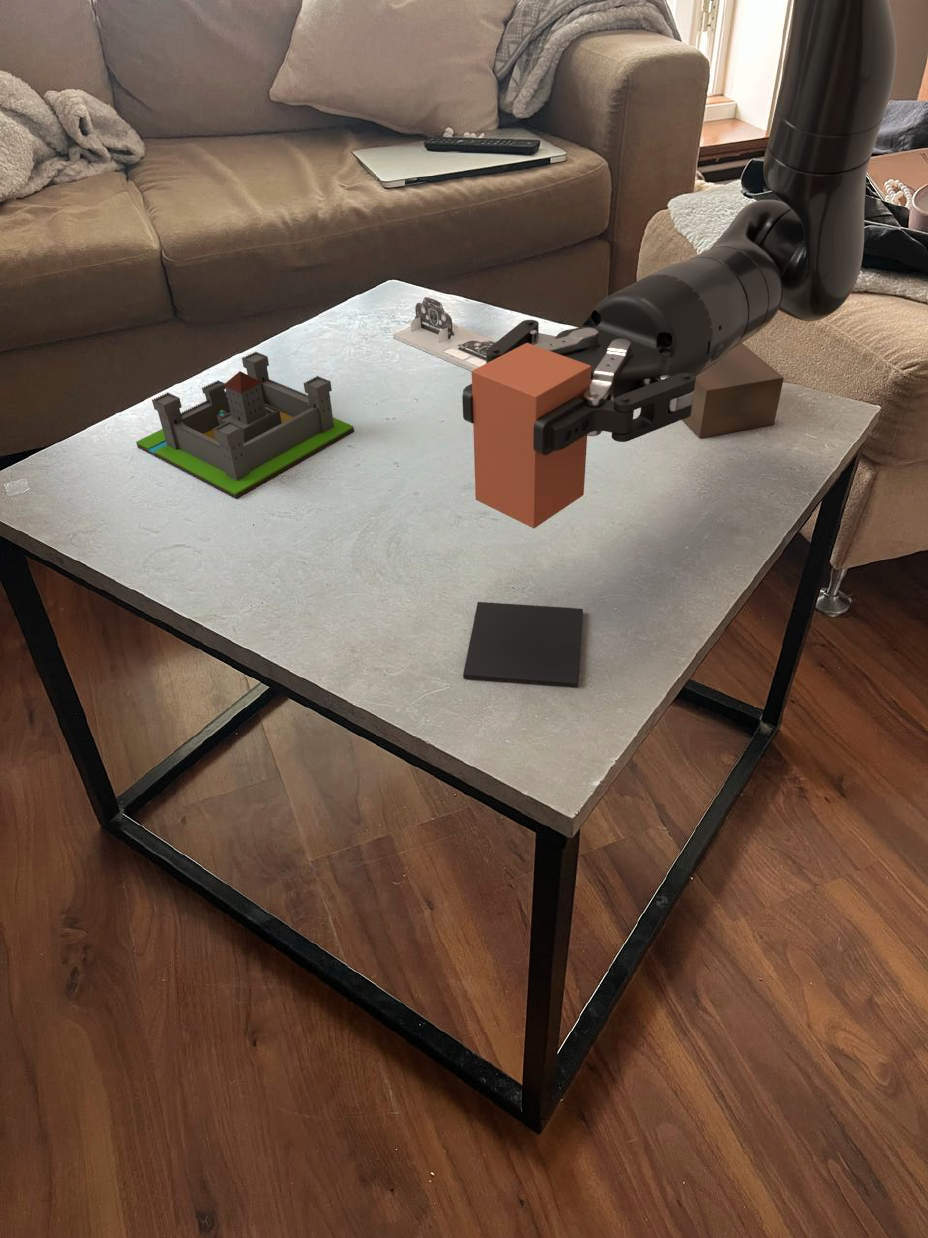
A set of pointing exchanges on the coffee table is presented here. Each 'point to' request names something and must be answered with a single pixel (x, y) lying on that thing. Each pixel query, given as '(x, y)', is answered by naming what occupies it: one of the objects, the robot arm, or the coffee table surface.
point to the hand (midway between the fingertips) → (502, 423)
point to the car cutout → (444, 337)
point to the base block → (735, 394)
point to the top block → (525, 433)
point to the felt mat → (525, 644)
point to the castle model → (245, 429)
